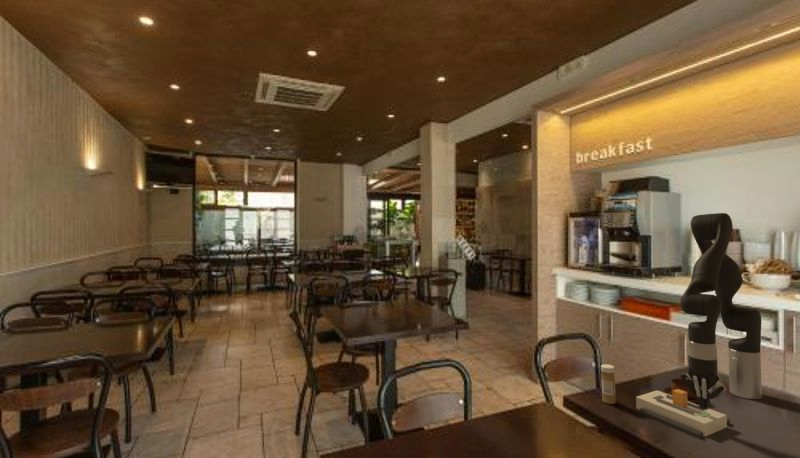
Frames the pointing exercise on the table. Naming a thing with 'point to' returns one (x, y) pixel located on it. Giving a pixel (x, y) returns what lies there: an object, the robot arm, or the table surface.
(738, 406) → the table surface
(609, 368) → the sprinkles bottle
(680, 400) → the breaker toggle
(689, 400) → the cup and saucer
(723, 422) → the slider base
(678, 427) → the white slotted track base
